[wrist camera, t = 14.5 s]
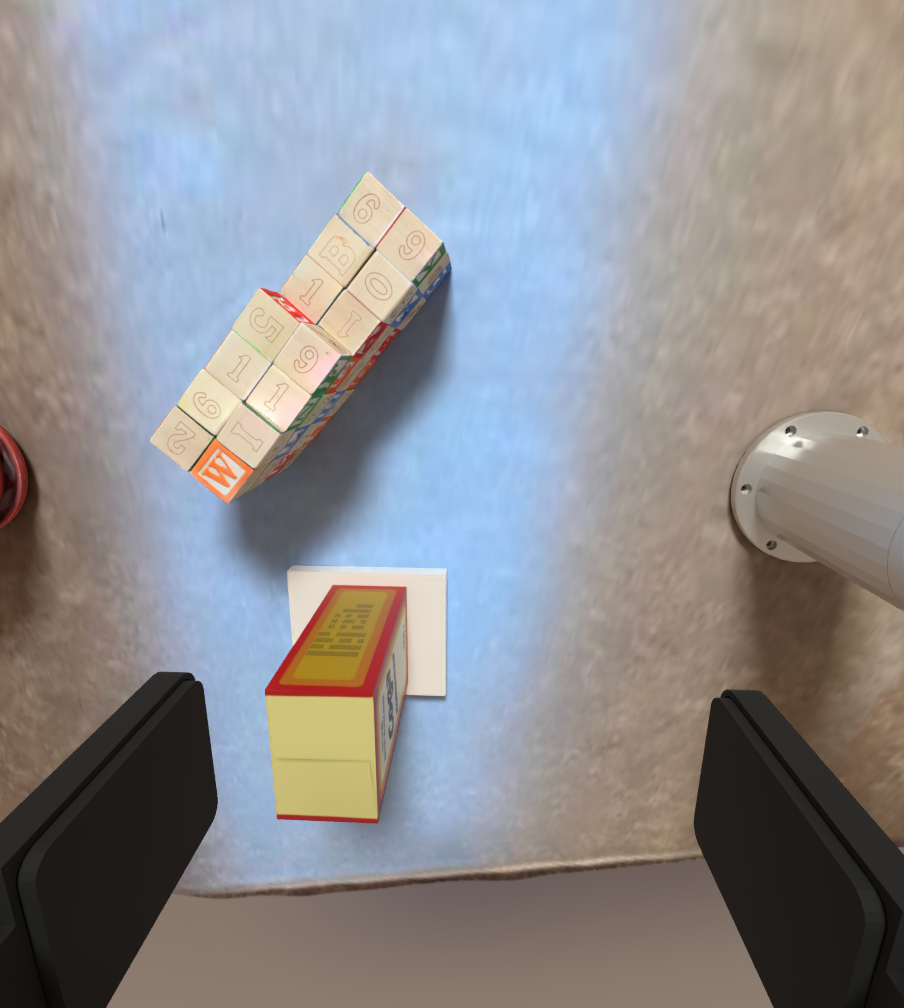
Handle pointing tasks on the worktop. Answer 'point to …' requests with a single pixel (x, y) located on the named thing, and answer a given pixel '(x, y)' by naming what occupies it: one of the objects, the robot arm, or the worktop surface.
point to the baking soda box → (340, 706)
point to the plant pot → (11, 478)
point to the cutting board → (421, 612)
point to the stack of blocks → (305, 345)
